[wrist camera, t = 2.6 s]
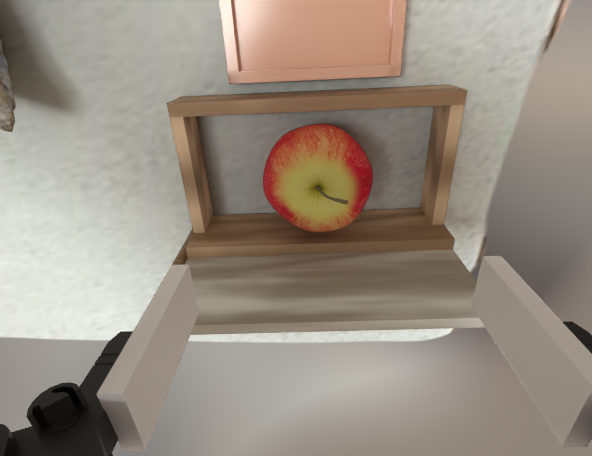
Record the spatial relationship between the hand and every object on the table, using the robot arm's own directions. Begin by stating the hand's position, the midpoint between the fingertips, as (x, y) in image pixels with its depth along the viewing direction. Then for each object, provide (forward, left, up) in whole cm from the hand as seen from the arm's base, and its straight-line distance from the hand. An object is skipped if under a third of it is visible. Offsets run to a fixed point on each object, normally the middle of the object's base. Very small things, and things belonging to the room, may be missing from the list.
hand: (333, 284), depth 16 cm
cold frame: (0, 0, -18) cm, 18 cm away
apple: (0, 0, -18) cm, 18 cm away
